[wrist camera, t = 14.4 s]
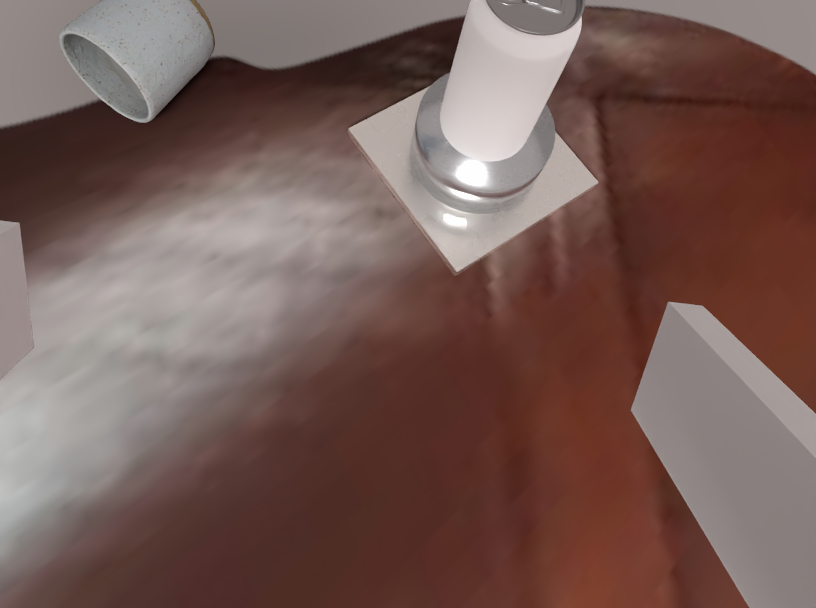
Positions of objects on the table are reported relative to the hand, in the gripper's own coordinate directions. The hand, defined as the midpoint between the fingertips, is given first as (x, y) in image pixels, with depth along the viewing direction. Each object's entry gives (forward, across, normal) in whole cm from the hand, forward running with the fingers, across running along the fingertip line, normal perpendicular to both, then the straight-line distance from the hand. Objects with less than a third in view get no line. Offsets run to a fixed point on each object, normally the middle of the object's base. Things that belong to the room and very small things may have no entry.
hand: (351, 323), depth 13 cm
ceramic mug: (+41, -18, -2) cm, 45 cm away
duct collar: (+38, +8, -4) cm, 39 cm away
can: (+35, +8, -1) cm, 35 cm away
